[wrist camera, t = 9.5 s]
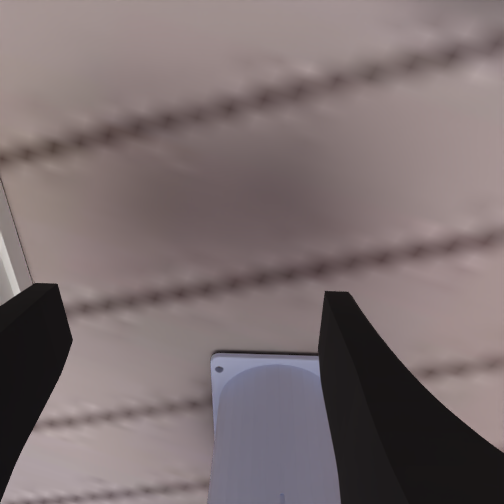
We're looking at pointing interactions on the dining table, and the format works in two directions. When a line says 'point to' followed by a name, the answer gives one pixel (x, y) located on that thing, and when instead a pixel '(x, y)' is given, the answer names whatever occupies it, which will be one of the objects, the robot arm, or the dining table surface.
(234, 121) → the dining table surface
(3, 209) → the ledge
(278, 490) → the robot arm
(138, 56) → the dining table surface
